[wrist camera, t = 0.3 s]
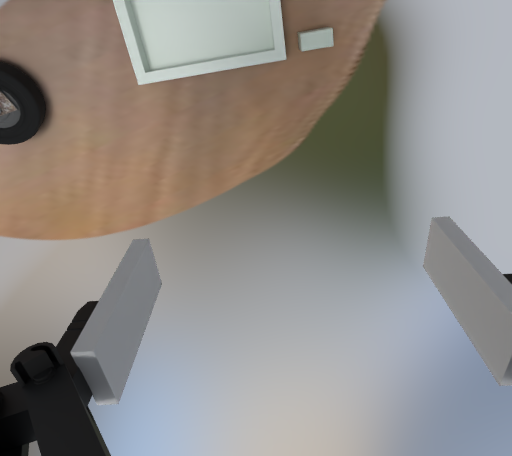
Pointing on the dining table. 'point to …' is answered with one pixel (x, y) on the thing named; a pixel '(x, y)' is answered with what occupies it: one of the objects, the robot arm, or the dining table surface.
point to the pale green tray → (205, 36)
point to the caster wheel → (19, 106)
